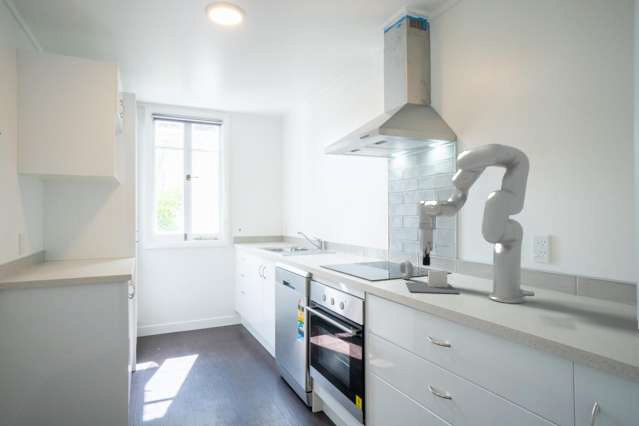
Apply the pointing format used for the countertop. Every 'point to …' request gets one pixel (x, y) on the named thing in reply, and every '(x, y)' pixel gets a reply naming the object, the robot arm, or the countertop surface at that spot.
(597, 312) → the countertop surface
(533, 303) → the countertop surface
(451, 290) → the mat
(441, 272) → the tile
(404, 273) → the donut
